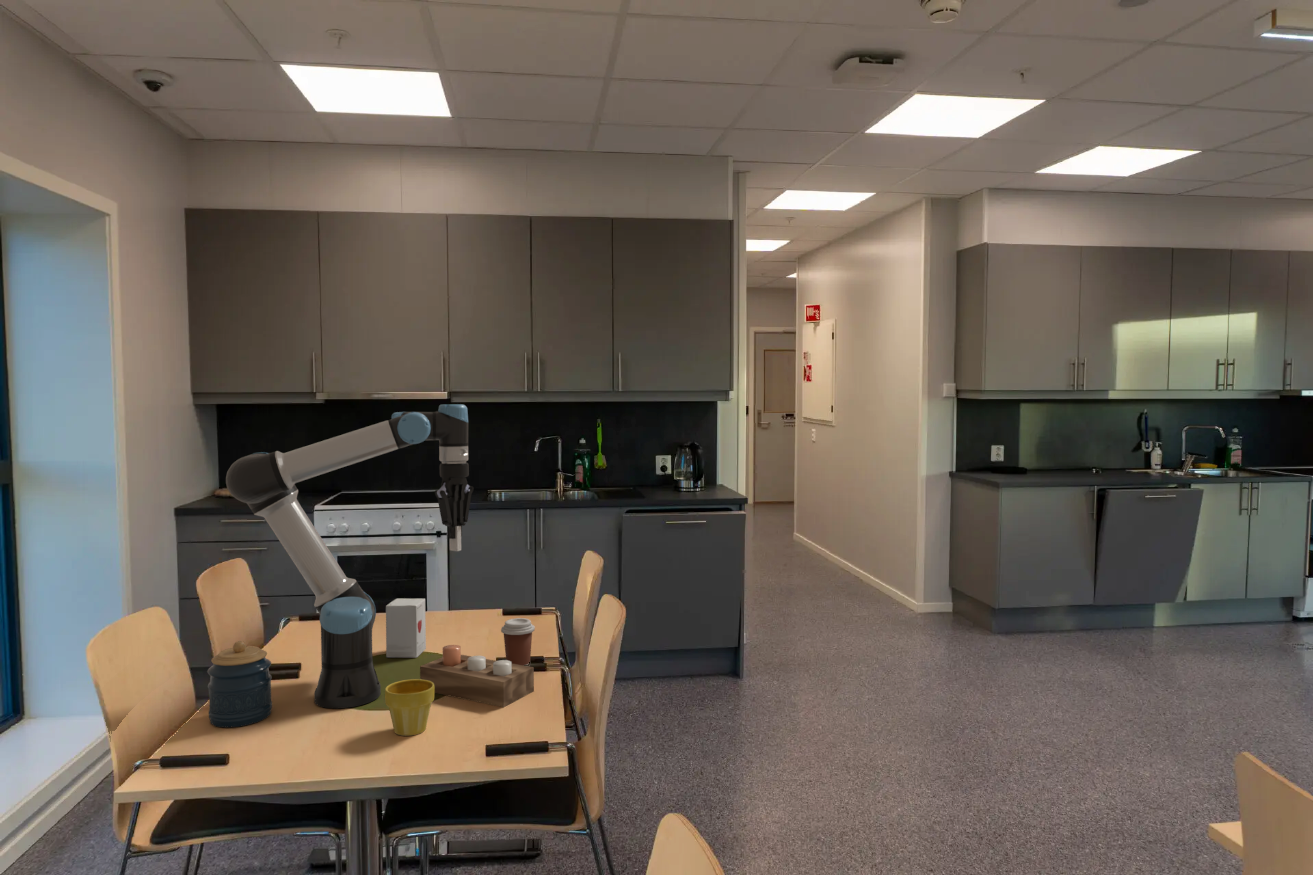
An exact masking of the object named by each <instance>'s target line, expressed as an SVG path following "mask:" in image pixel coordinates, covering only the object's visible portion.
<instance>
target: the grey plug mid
mask: <svg viewBox="0 0 1313 875" xmlns="http://www.w3.org/2000/svg"><path fill="white" fill-rule="evenodd" d="M486 659H487V658H486V656H484V655H472V657H469V658H468V670H472V671H481V670H483V669H485V668H486Z"/></svg>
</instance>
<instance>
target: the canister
mask: <svg viewBox="0 0 1313 875" xmlns="http://www.w3.org/2000/svg"><path fill="white" fill-rule="evenodd" d="M267 654H268V653H267V651H266V650H264V649H262V648H260V647H258V646H254V645H246V643H245V642H244V641H241V640H238V641H235V642H234V643H233V645H232V647H230V648H227V649H224V650H221V651H220V652H218V654H217V655H214V657H212V658H211V663H212V664H213V665H211V666H210V667H209V668H208V669H207V671H206V672H207V675H209V676H210V678H209V679H210V680H209V682H208V685H207V688H208V700H209V701H208V703H209V705H208V706H209V709H208V719H209V722H210V725H212V726H214V727H217V728H238V727H243V726H248V725H249V726H250V725H251V724H252V725H253V724H256V723H258V722H261V721H263V720H266V719H267V718H268V717H269V716H271V713H272V709H273V701H272V684H271V683H272V674H270V670H269V668H270V667H271V666H272V661H271V660H270V659H268V658H266V657H267Z"/></svg>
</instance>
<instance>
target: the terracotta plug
mask: <svg viewBox="0 0 1313 875" xmlns="http://www.w3.org/2000/svg"><path fill="white" fill-rule="evenodd" d="M461 655H462V653H461V645H459V644H448V645H444V646H443V647H442V657H443V665H446V666H451V667H454V666H456V665H458V664H461Z"/></svg>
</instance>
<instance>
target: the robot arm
mask: <svg viewBox="0 0 1313 875" xmlns="http://www.w3.org/2000/svg"><path fill="white" fill-rule="evenodd" d="M424 441H438V442H439V443H438V444H439V445H438V446H439V447H438V448H439V455H438V456H439V458H438V459H439V461H440V462H441V463H440V464H439V476H440V478H441V479H442V481H441V483H440V484H441V487H440V488H439V489H436V490H435V491H434V495H435V497H436V499H437V503H438V508H439V514H440V518H441V524H442V525H444V526H445V527H447V529H448V533H447V534H448V539H449V551H453V552H460V551H462V536H463V526H466V523H467V522H468V520H469V519H468V518H469V513H470V506H471V500H472V499H471V498H472V494H473V492H474V489H475V488H474V486H471V485H469V484H468V481H467V477H469V475H470V473H469V472H470V470H469V468H470V467H469V466H470V465H469V463H468V462H467V461H469V414H468V407H467V406H466V405H465V404H461V403H460V404H458V403H457V404H440V405H439V406H438V410H437V411H399V412H398V411H397V412H393V413H392V414H391V419H389V420H384V421H380V422H378V423H375V424H371V425H369V426H365V427H362V428H358V429H356V430H352V431H349V432H346V433H343V434H341V435H337V436H333V437H330V438H328V439H324V440H322V441H318V442H314V443H312V444H309V445H306V446H302V447H299V448H295V449H293V450H290V451H287V452H281V451H279V450H276V451H272V452H265V451H263V452H262V451H261V452H259V451H258V452H253V453H251V454H248V455H245V456H242V457H240V458H238V459H237V460H236V461H234V462H233V463H232V464H231V465H230V467H229V468H228V470H227V472H226V476H225V484H226V488H227V490H228V492H229V493H230V495H231V496H232V497H233V498H235V499H236V500H238V501H240V502H242V503H243V504H247V506H248V507H249V509H250V511H251V512H252V513H253V515H254V516H257V517H262V518H264V519H265V522H267V524H268V525H269V527H270V528H271V530H272V531H273V533H274V534H275V536H276V538H277V540H278V541H279V542H280V544H281V545H282V547H283V549H284V550H285V551H286V553H287V555H288V556H289V557H290V559H291V561H292V562H293V564H294V565H295V566H296V568H297V570H298V571H299V573H300V575H302V577H303V579H304V580H305V582H306V584H307V586H308V587H309V589H310V590H311V591H312V593H313V594H314V595H315V600H314V604H313V605H314V606H313V607H314V608H315V609H316V611H317V612H318V614H319V623H320V647H321V648H320V649H321V650H320V651H321V652H320V655H321V656H320V657H321V660H320V661H321V671H320V674H319V677H318V682H317V685H316V688H315V689H314V693H313V694H314V698H313V699H314V704H315V705H316V706H318V707H320V708H325V709H347V708H355V707H358V706H363V705H366V704H369V703H372V702H373V701H375V700H377V699H378V698H379V697H380V696H381V694H382V693H381V683H380V680H379V678H378V675H377V671H376V669H375V666H374V662H373V628H374V624H375V621H376V620H375V619H376V616H377V615H376V614H377V609H376V605H375V602H374V600H373V599H372V597H371V596H370V595H369V594H367V593H366V592H365V591H364V590H363V589H362V587H361V585H360V584H359V582H358V581H357V580H356V578H350V577H347V576H346V574H345V573H344V570H343V569H342V568H341V566H340V565H339V563H338V561H337V560H336V558H335V557H334V555H333V553H332V552H331V551H330V549H329V548H328V546H327V545H326V543H325V542H324V539H323V538H322V537H321V535H320V533H319V532H318V531H317V529H316V527H315V526H314V525H313V523H312V521H311V519H310V518H309V517H308V515H307V513H306V512H305V510H304V509H303V507H302V506H301V504H300V502H299V500H298V499H297V498H298V495H299V489H298V488H297V486H296V484H297V483H300V482H303V481H305V480H309V479H312V478H315V477H317V476H320V475H324V474H327V473H329V472H333V471H336V470H338V469H341V468H344V467H347V466H351V465H355V464H357V463H360V462H363V461H366V460H369V459H372V458H376V457H378V456H381V455H384V454H388V453H390V452H393V451H396V450H399V449H404V448H406V447H408V446H413V445H417V444H418V445H419V444H420V443H424Z"/></svg>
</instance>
